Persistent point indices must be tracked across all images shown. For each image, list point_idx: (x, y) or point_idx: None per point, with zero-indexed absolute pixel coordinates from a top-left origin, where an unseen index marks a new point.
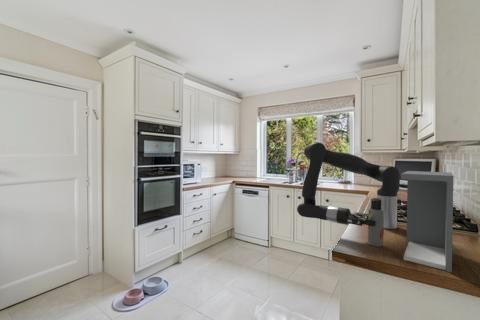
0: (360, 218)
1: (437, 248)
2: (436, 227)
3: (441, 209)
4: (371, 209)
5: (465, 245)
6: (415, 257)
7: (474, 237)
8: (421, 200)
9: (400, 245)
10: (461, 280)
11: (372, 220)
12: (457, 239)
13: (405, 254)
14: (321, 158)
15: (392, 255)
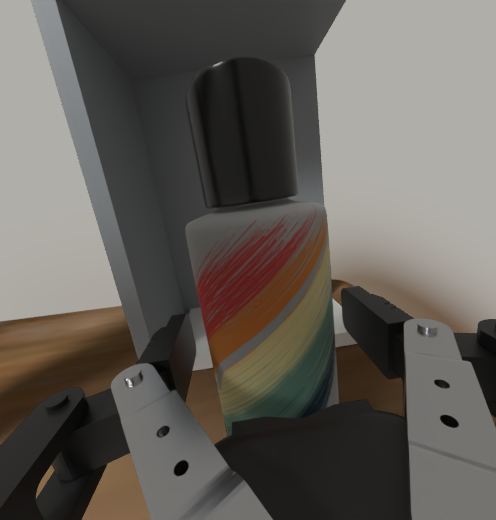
0: (452, 357)
1: (199, 314)
2: (166, 262)
3: (155, 198)
4: (296, 204)
5: (103, 314)
6: (338, 315)
7: (21, 319)
8: (127, 168)
9: (202, 390)
10: (347, 283)
11: (352, 294)
12: (48, 328)
13: (344, 330)
14: None
15: (367, 370)
